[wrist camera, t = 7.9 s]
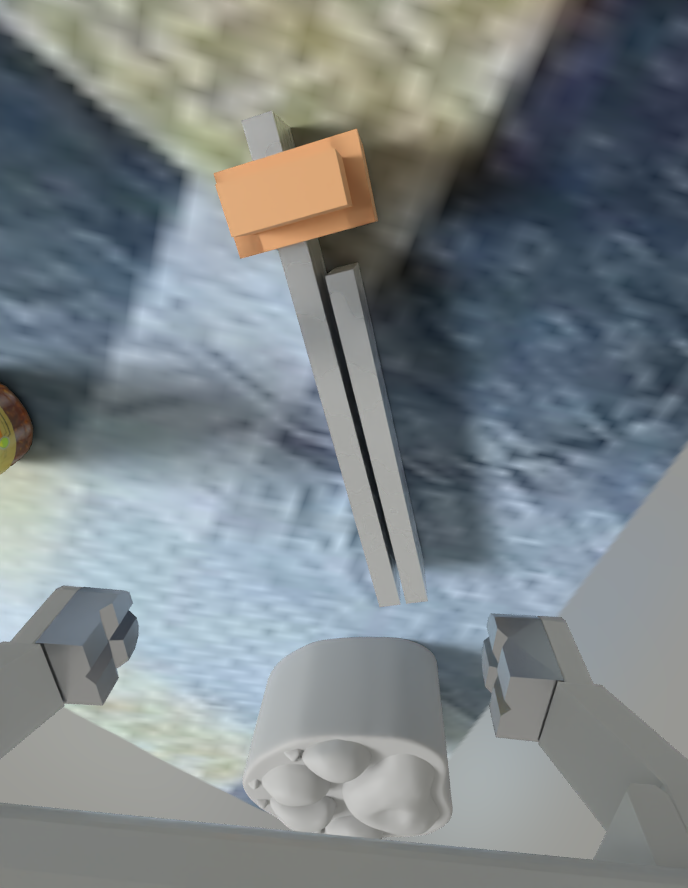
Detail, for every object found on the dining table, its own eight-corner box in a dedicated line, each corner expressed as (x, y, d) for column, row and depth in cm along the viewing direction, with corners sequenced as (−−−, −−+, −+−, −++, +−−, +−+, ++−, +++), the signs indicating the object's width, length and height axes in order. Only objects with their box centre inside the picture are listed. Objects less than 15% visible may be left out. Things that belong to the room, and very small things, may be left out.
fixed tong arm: (264, 135, 21) (241, 120, 18) (290, 127, 21) (271, 110, 17) (380, 565, 30) (379, 607, 27) (399, 562, 30) (400, 604, 27)
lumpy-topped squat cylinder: (444, 731, 37) (459, 868, 29) (282, 733, 39) (255, 863, 31) (433, 632, 33) (447, 763, 25) (252, 641, 34) (212, 765, 27)
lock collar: (246, 181, 21) (187, 166, 15) (363, 145, 20) (351, 114, 14) (266, 251, 23) (219, 264, 16) (378, 221, 22) (373, 221, 15)
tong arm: (333, 268, 23) (324, 276, 20) (358, 262, 23) (353, 269, 19) (404, 563, 30) (406, 603, 27) (423, 560, 30) (427, 601, 27)
